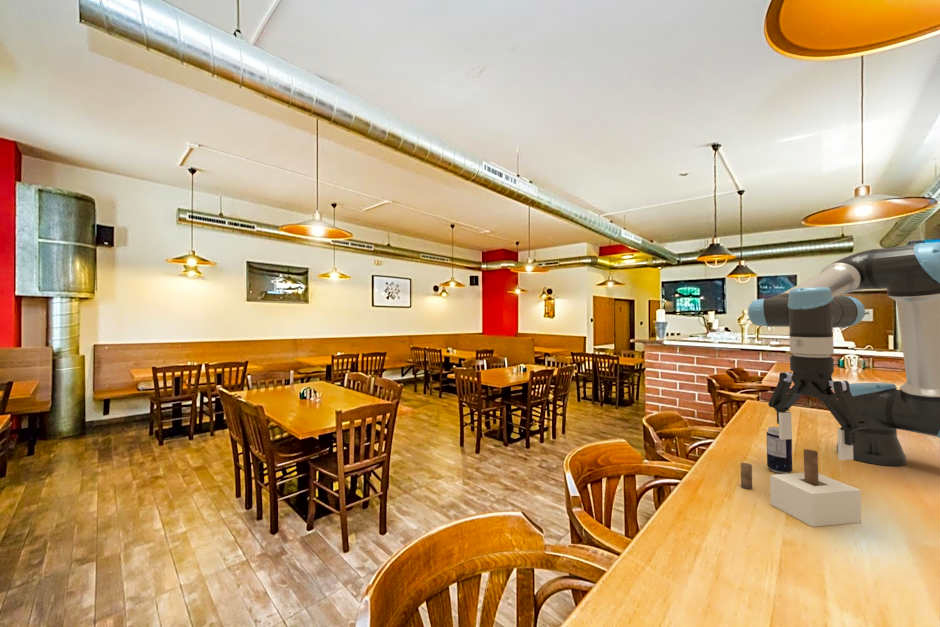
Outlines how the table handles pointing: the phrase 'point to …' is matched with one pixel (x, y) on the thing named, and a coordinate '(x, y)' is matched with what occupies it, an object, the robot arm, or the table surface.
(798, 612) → the table surface
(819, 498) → the hole block
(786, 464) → the beverage can
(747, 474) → the short pin
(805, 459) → the long pin
